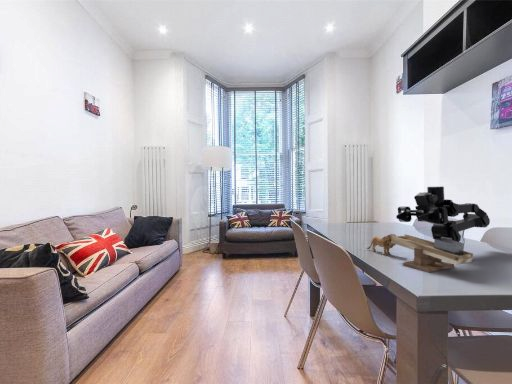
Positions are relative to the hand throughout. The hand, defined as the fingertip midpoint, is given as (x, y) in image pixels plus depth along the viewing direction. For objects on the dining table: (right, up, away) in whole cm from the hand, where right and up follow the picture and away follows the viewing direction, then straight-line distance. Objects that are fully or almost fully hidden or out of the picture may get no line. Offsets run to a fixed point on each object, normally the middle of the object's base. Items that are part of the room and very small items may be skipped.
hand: (407, 217), depth 111 cm
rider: (+8, -12, -11) cm, 18 cm away
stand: (+5, -17, -5) cm, 19 cm away
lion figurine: (-2, -17, +17) cm, 24 cm away
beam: (+5, -11, -5) cm, 13 cm away
